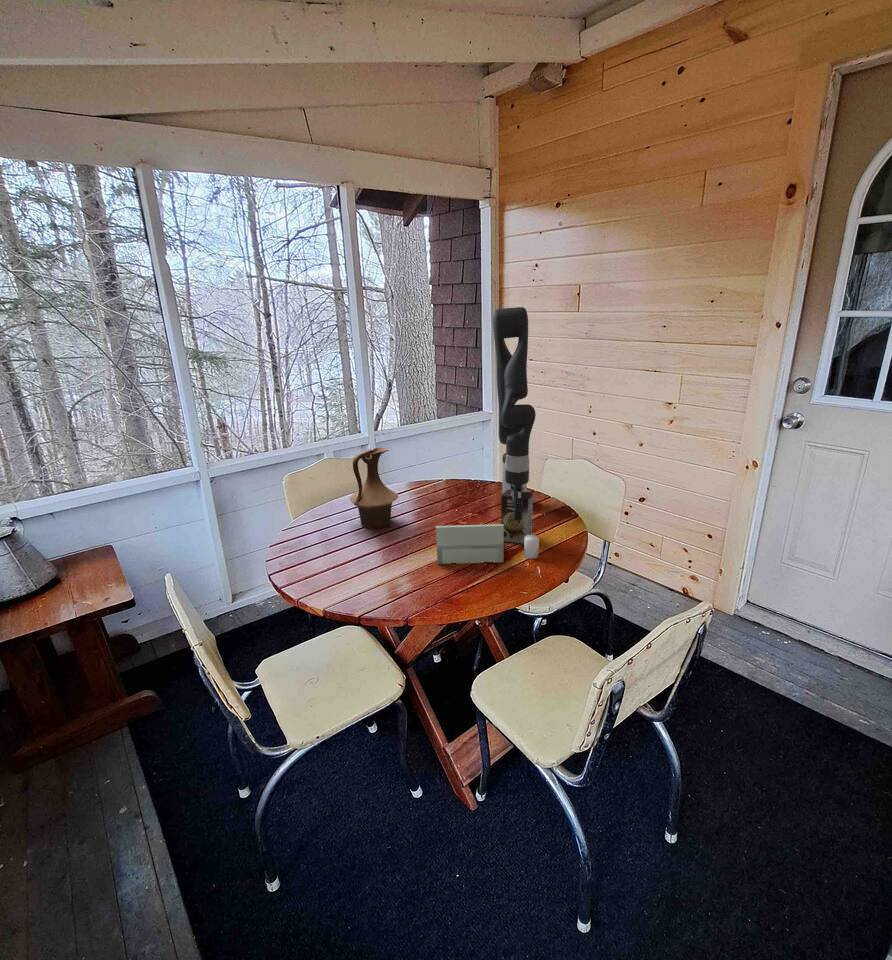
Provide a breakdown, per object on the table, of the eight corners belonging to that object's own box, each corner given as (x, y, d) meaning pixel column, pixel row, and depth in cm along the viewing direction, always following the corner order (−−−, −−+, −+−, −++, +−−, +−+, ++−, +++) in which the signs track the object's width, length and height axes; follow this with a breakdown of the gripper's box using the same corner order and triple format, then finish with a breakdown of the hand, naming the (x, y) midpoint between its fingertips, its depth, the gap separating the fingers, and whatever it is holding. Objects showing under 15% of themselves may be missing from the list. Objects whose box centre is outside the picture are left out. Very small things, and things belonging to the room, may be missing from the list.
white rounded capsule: (523, 552, 161) (523, 534, 159) (537, 552, 161) (537, 534, 159) (525, 558, 157) (525, 541, 155) (539, 558, 157) (540, 540, 155)
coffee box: (500, 541, 169) (500, 495, 164) (506, 533, 175) (506, 488, 169) (527, 545, 166) (528, 498, 160) (532, 537, 171) (533, 491, 166)
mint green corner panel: (438, 543, 169) (436, 509, 165) (499, 542, 168) (499, 508, 165) (437, 564, 155) (435, 527, 152) (503, 562, 155) (503, 525, 151)
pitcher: (375, 537, 174) (368, 458, 165) (341, 526, 184) (333, 451, 175) (409, 520, 188) (404, 446, 179) (376, 511, 198) (370, 440, 189)
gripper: (503, 461, 169) (502, 507, 174) (507, 474, 156) (507, 524, 161) (525, 461, 169) (524, 507, 174) (532, 474, 155) (531, 523, 160)
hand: (516, 515), depth 167 cm, fingers open, 8 cm apart
